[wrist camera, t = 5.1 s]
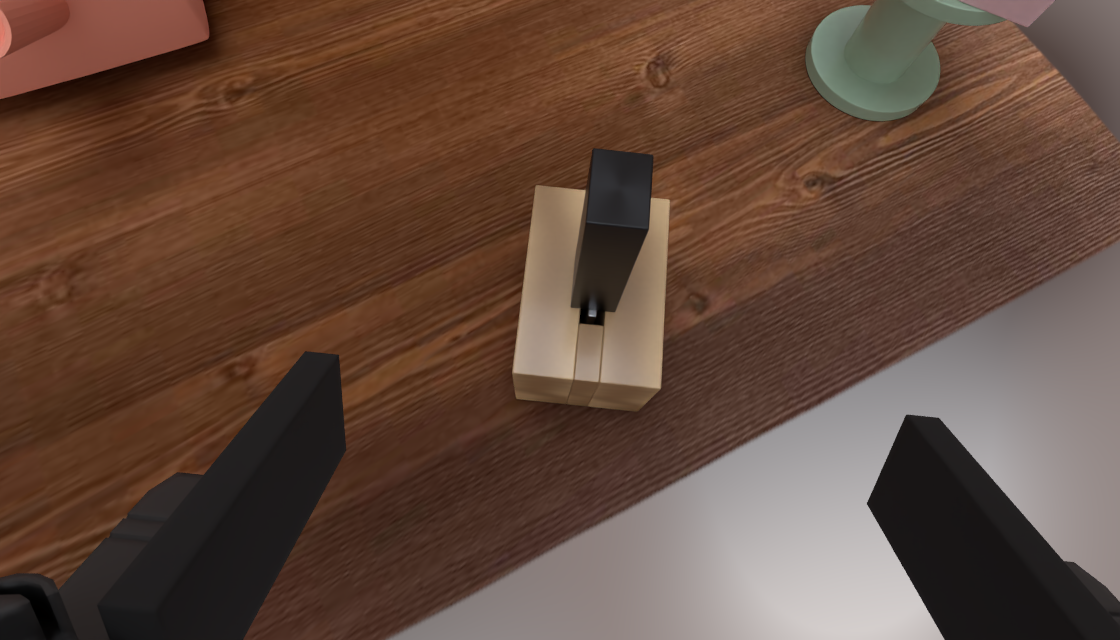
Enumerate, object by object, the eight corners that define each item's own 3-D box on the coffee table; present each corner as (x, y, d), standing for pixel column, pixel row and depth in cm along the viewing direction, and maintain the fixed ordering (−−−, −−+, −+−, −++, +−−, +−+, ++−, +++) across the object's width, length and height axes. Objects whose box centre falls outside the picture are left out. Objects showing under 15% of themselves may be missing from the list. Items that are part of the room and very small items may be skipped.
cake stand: (953, 42, 44) (1071, -89, 34) (917, 150, 41) (1034, 39, 31) (823, -9, 45) (901, -151, 35) (778, 92, 42) (851, -33, 32)
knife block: (647, 251, 38) (670, 199, 31) (637, 412, 35) (661, 389, 28) (535, 239, 38) (535, 184, 31) (515, 399, 34) (511, 373, 28)
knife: (605, 295, 37) (654, 146, 22) (600, 353, 36) (648, 237, 21) (568, 291, 37) (593, 140, 22) (563, 349, 35) (584, 230, 21)
